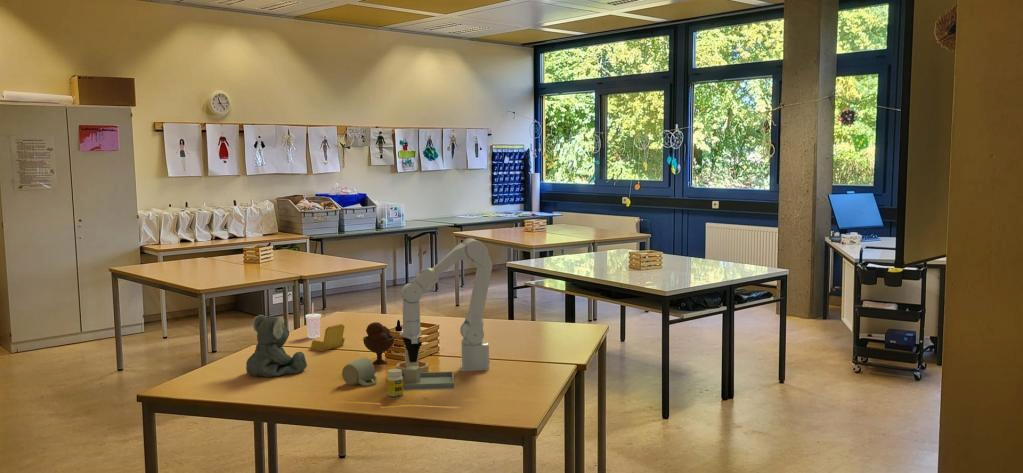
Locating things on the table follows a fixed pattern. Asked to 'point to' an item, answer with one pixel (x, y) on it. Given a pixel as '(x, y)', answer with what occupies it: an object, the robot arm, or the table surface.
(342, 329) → the yellow bent piece
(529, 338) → the table surface
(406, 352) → the sage green cube
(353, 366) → the ceramic mug
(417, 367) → the beige square block
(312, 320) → the beverage cup
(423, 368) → the bowl
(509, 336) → the table surface
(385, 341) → the ice cream bowl
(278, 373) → the koala plush
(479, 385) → the table surface
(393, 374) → the supplement bottle
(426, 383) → the parts tray
